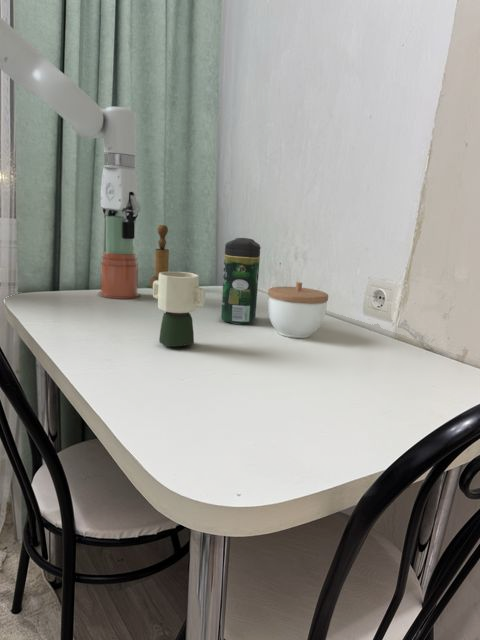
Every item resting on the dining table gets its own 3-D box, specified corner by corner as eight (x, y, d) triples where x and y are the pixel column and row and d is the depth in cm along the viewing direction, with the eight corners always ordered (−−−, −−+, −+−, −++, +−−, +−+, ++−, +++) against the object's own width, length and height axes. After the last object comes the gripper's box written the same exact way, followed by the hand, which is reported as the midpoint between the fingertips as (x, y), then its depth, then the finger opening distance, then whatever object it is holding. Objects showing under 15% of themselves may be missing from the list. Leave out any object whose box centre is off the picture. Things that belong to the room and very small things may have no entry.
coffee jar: (223, 314, 121) (228, 235, 116) (256, 317, 121) (262, 238, 116) (218, 323, 111) (223, 237, 106) (253, 326, 111) (260, 241, 106)
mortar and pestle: (145, 287, 148) (146, 223, 143) (156, 284, 154) (158, 223, 149) (165, 290, 146) (167, 226, 141) (176, 287, 152) (178, 225, 147)
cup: (100, 251, 129) (100, 215, 127) (123, 251, 134) (124, 216, 132) (115, 254, 125) (115, 217, 123) (138, 254, 130) (139, 218, 128)
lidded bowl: (261, 325, 113) (266, 276, 110) (316, 328, 115) (322, 280, 112) (268, 339, 101) (273, 285, 98) (329, 343, 103) (336, 289, 100)
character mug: (212, 346, 93) (216, 276, 90) (190, 355, 87) (194, 280, 83) (163, 336, 97) (165, 268, 94) (140, 343, 91) (141, 271, 88)
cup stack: (92, 293, 132) (92, 250, 129) (124, 290, 139) (125, 250, 136) (113, 300, 126) (113, 255, 123) (146, 297, 133) (146, 255, 130)
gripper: (87, 160, 126) (88, 233, 131) (127, 161, 116) (126, 240, 120) (113, 164, 132) (113, 233, 137) (154, 165, 121) (152, 240, 126)
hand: (119, 236), depth 129 cm, fingers closed on cup, 6 cm apart
